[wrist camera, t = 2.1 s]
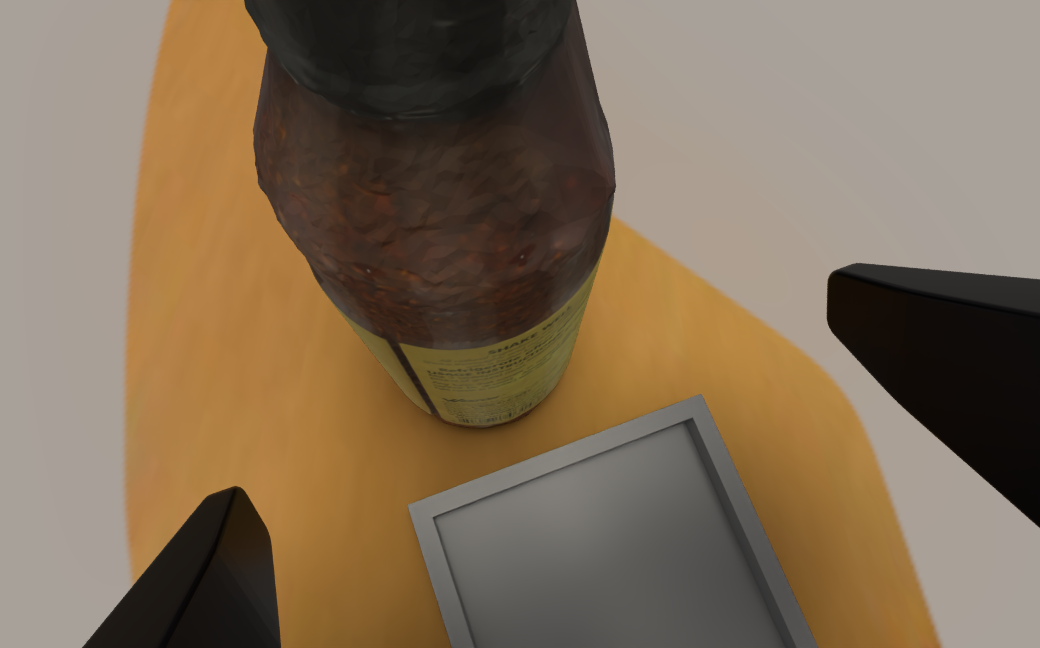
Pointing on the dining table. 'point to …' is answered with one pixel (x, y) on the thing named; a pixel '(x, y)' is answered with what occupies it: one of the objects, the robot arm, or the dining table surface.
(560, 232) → the sauce bottle
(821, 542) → the dining table surface
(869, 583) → the dining table surface
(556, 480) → the tray
